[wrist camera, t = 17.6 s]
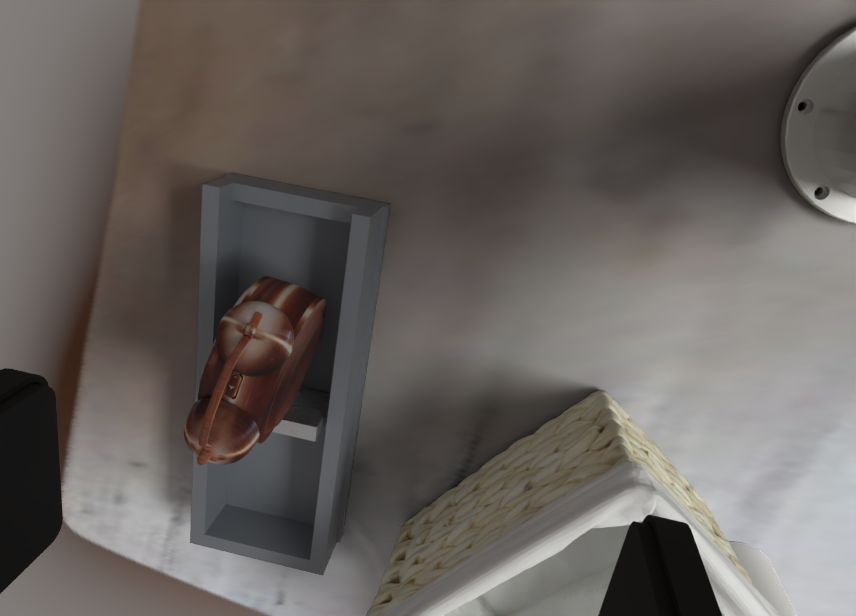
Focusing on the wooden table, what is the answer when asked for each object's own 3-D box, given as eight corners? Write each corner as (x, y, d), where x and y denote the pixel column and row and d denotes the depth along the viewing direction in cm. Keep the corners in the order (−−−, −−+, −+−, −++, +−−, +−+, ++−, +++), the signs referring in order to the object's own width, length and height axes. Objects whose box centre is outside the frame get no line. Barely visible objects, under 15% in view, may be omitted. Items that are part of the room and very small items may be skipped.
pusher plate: (336, 394, 50) (316, 427, 45) (334, 408, 50) (315, 441, 46) (237, 372, 51) (208, 402, 46) (236, 386, 51) (207, 417, 46)
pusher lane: (390, 203, 45) (374, 218, 41) (342, 534, 56) (326, 576, 51) (231, 172, 46) (197, 183, 42) (214, 504, 57) (186, 541, 52)
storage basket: (611, 363, 47) (646, 480, 33) (739, 510, 50) (820, 675, 36) (383, 518, 55) (336, 665, 41) (504, 638, 58) (497, 814, 44)
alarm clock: (285, 260, 47) (203, 296, 33) (344, 286, 47) (290, 332, 33) (237, 388, 49) (141, 475, 35) (294, 412, 50) (223, 509, 35)
